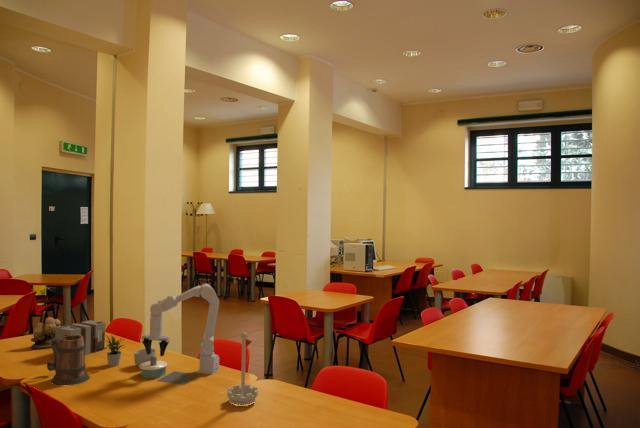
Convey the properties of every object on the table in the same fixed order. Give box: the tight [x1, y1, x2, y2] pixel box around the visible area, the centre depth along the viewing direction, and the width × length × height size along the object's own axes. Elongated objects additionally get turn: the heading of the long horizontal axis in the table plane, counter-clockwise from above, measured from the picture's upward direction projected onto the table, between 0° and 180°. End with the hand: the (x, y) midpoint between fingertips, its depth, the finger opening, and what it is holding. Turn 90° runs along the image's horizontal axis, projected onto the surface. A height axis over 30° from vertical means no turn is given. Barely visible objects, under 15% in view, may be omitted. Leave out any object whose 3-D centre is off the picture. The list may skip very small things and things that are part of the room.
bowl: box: [140, 366, 167, 379], centre depth 242 cm, size 11×11×4 cm
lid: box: [138, 355, 168, 370], centre depth 242 cm, size 13×13×5 cm
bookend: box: [55, 319, 106, 356], centre depth 276 cm, size 16×25×16 cm, turn 154°
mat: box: [156, 370, 201, 386], centre depth 238 cm, size 15×15×1 cm
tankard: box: [46, 335, 91, 386], centre depth 234 cm, size 24×17×20 cm
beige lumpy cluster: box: [30, 316, 62, 351], centre depth 287 cm, size 18×12×17 cm, turn 145°
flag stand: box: [226, 331, 259, 405], centre depth 212 cm, size 13×13×30 cm
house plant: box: [99, 334, 128, 367], centre depth 256 cm, size 14×14×16 cm
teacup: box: [133, 347, 157, 368], centre depth 257 cm, size 14×11×8 cm
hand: (155, 354), depth 243 cm, fingers open, 7 cm apart
